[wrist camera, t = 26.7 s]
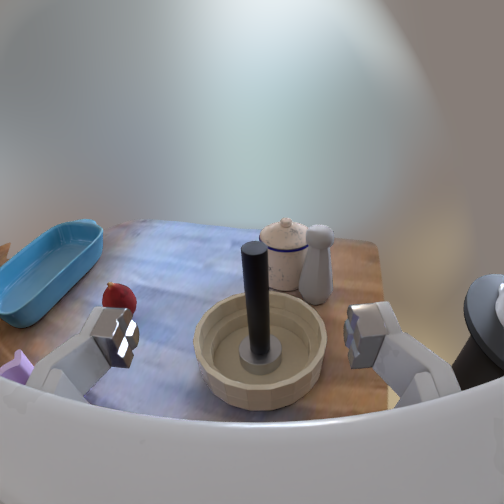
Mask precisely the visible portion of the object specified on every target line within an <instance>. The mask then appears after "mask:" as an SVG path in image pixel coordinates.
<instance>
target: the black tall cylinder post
mask: <svg viewBox="0 0 504 504" xmlns="http://www.w3.org/2000/svg"><path fill="white" fill-rule="evenodd" d="M241 256H242V267H243V278H244V289H245V300H246V310H247V321H248V331H249V335H248V336H246V337H245V338H244V339H243V340H242V341H241V343H240V345H239V356H240V362H241V365H242V367H243V368H244V369H245V370H246V371H247V372H249V373H252V374H255V375H266V374H269V373H272V372H273V371H275V370H276V369H277V368H278V367H279V365H280V364H281V360H282V345H281V342H280V341H279V339H278V338H277V337H275V336H274V335H272V334H270V308H269V270H268V247H267V245H266V244H265V243H263V242H260V241H251V242H247V243H245V244H244V245H243V246H242V247H241Z"/></svg>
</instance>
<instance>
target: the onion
mask: <svg viewBox="0 0 504 504" xmlns="http://www.w3.org/2000/svg"><path fill="white" fill-rule="evenodd" d="M107 285H108V287H107V288H106V290H105V292H104V294H103V299H102V305H103V307H115V308H127V309H130V310H131V312H132V315H133V313H134V312H135V310H136V304H137V301H136V297H135V295H134V294H133V292H132V291H131V289H130V288H128V287H127V286H125V285H122V284H115V283H112V282H109V283H107Z"/></svg>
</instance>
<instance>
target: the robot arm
mask: <svg viewBox="0 0 504 504" xmlns="http://www.w3.org/2000/svg"><path fill="white" fill-rule="evenodd" d="M498 291H499V297H498V299H497V300H496V304H495V309H496V313H497V316H498V319H499V320H500V322H501V324H502V325H503V327H504V284H501V285H500V287H499V289H498ZM347 315H348V319H347V320H346V321H345V324H344V342H345V346H346V347H348V348H349V352H348V359H349V363H350V367H351V369H360V368H370V367H373V369H374V370H375V371H376V372H377V374H378V375H379V376H380V377H381V378H382V379H383V380H384V381H385V382H386V383H387V384H388V385H389V386H390V387H391V388H392V389H393V390H394V391H395V392H396V393H397V395H398V396H399V397H400V400H399V402H398V403H397V404H396V406H395V407H394V409H390V410H385V411H379V412H373V413H367V414H361V415H354V416H346V417H338V418H329V419H319V420H306V421H290V422H215V421H198V420H186V419H176V418H167V417H158V416H151V415H144V414H138V413H132V412H126V411H120V410H115V409H110V408H105V407H100V406H96V405H91V404H89V402H88V401H87V400H86V399H85V398H84V397H83V396H84V395H85V394H86V393H87V391H88V390H89V389H90V388H91V387H92V386H93V385H94V384H95V383H96V382H97V381H98V380H99V379H100V378H101V377H102V376H103V375H104V374H105V373H106V372H107V371H108V370H109V369H110V368H111V367H119V368H129V367H130V365H131V362H132V359H133V356H134V355H133V352H132V350H133V349H135V348H136V347H137V345H138V342H139V329H138V326H137V324H136V323H135V322H134V321H132V320H131V319H132V317H133V315H132V312H131V310H130V309H127V308H115V307H99V306H96V307H95V308H93V310H92V312H91V313H90V315H89V317H88V319H87V320H86V322H85V324H84V326H83V328H82V330H81V332H80V333H79V335H77V334H76V335H74V336H73V337H72V338H70V339H69V340H67V341H66V342H65V343H63V344H62V345H60V346H59V347H58V348H56V349H55V350H54V351H52V352H51V353H49V354H48V355H47V356H45V357H44V358H43V359H41V360H40V361H38V362H37V363H36V365H35V367H34V369H33V371H32V373H31V375H30V377H29V379H28V381H27V383H26V385H23V384H20V383H17V382H15V381H12V380H9V379H7V378H4V377H2V376H0V504H504V376H503V377H501V378H498V379H496V380H493V381H490V382H488V383H485V384H482V385H479V386H476V387H474V388H471V389H467V390H464V391H461V389H460V386H459V384H458V381H457V379H456V377H455V374H454V372H453V370H452V367H451V365H450V364H448V363H447V362H446V361H444V360H443V359H442V358H440V357H439V356H438V355H436V354H435V353H434V352H432V351H431V350H429V349H428V348H427V347H425V346H424V345H423V344H421V343H420V342H419V341H417V340H416V339H414V338H413V337H412V336H410V335H409V334H408V333H403V332H402V330H401V328H400V325H399V323H398V321H397V319H396V316H395V314H394V312H393V310H392V308H391V305H390V303H389V302H377V303H367V304H355V305H349V307H348V310H347Z"/></svg>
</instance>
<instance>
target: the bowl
mask: <svg viewBox="0 0 504 504" xmlns="http://www.w3.org/2000/svg"><path fill="white" fill-rule="evenodd" d="M269 308H270V334H272V335H274V336H275V337H277V338H278V339H279V341H280V342H281V345H282V360H281V364H280V365H279V367H278V368H277V369H276V370H275V371H273V372H272V373H269V374H266V375H255V374H252V373H249V372H247V371H246V370H245V369H244V368H243V367H242V365H241V362H240V356H239V345H240V343H241V341H242V340H243V339H244V338H245V337H246V336H248V335H249V331H248V321H247V310H246V300H245V292H244V293H240V294H236V295H232V296H230V297H228V298H226V299H224V300H222V301H219V302H218V303H216V304H215V305H214V306H213V307H211V308H210V309H209V310H208V311H207V312H205V314H204V315H203V317H202V318H201V320H200V321H199V323H198V324H197V326H196V329H195V334H194V339H193V344H194V349H195V354H196V358H197V361H198V364H199V367H200V370H201V373H202V376H203V379H204V381H205V383H206V384H207V385H208V387H209V388H210V390H211V391H212V392H213V394H215V395H216V396H217V397H219V398H220V399H222V400H223V401H225V402H226V403H228V404H230V405H232V406H236V407H239V408H243V409H246V410H250V411H262V410H274V409H278V408H281V407H284V406H287V405H290V404H293V403H294V402H296V401H297V400H299V399H300V398H301V397H303V396H304V395H306V394H307V393H308V392H309V391H310V390H311V388H312V387H313V386H314V384H315V383H316V381H317V380H318V378H319V376H320V371H321V367H322V363H323V358H324V353H325V348H326V343H327V334H326V329H325V324H324V322H323V320H322V319H321V317H320V316H319V314H318V313H317V311H316V310H315V309H314V308H312V307H311V306H310V305H308V304H307V303H306V302H305V301H303V300H301V299H299V298H296V297H294V296H292V295H289V294H286V293H281V292H275V291H269Z"/></svg>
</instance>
